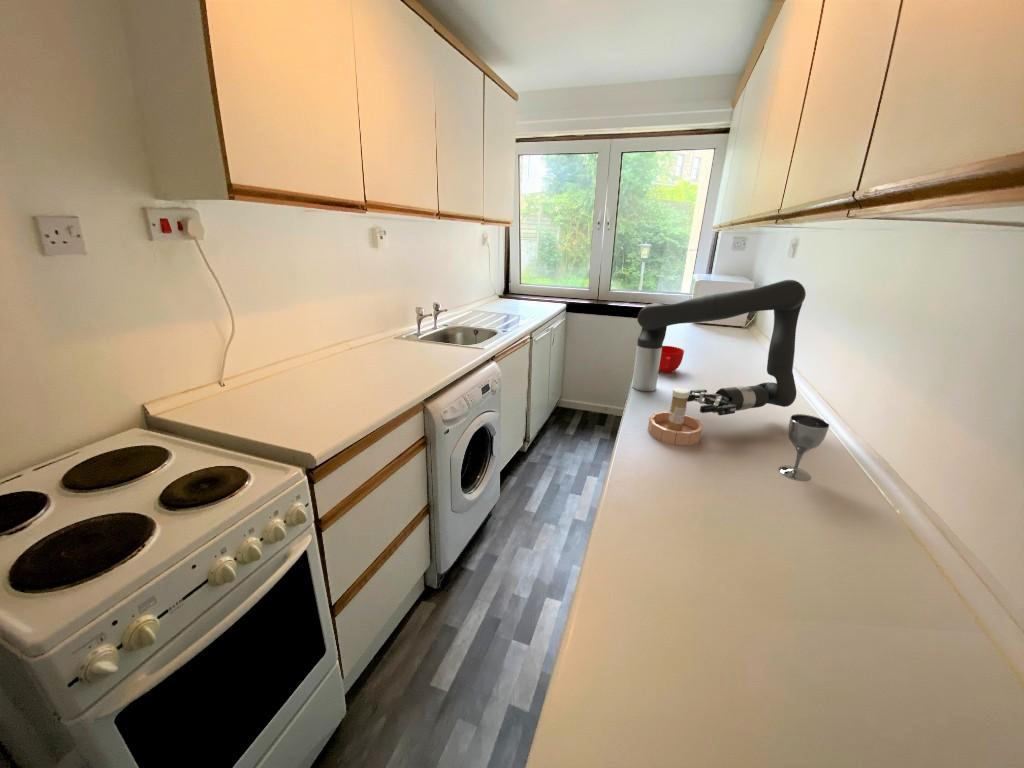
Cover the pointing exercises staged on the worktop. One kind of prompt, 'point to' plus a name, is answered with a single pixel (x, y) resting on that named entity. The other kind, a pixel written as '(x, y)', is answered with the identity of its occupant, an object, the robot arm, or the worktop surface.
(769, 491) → the worktop surface
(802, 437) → the wine glass
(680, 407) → the sprinkles bottle
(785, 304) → the robot arm
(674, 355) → the ceramic cup
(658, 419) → the terracotta bowl
